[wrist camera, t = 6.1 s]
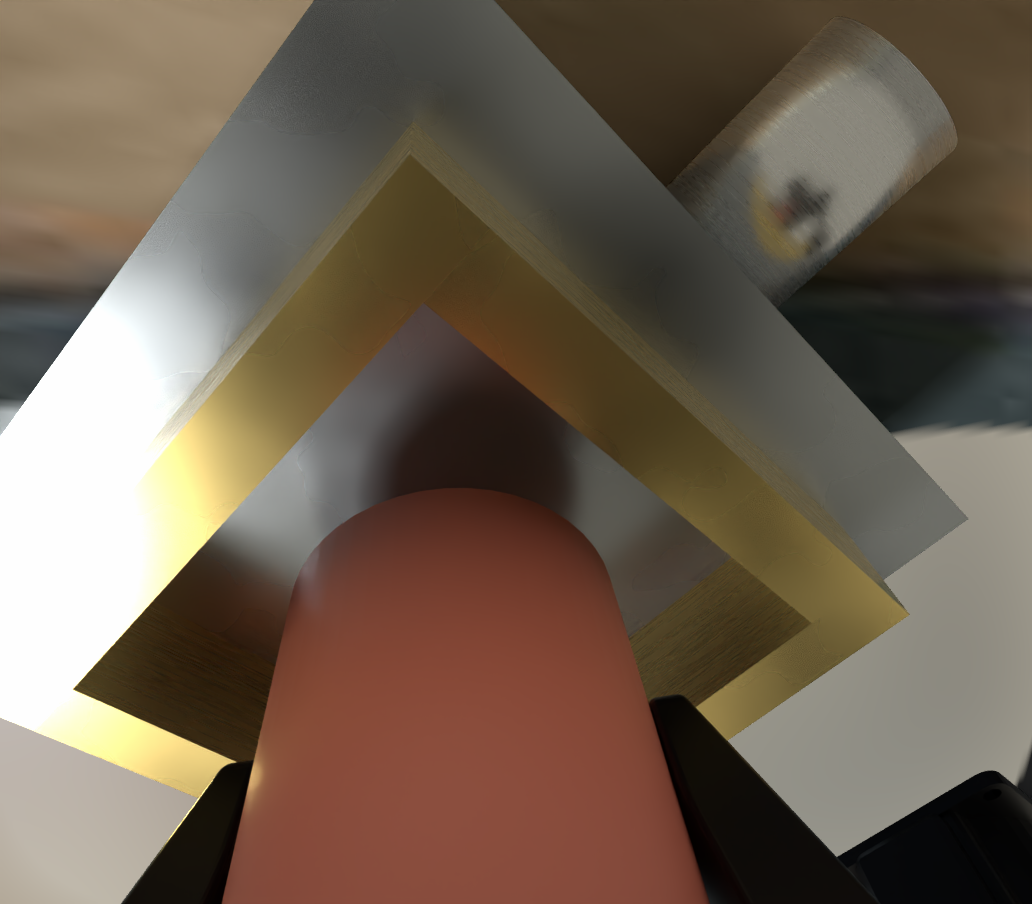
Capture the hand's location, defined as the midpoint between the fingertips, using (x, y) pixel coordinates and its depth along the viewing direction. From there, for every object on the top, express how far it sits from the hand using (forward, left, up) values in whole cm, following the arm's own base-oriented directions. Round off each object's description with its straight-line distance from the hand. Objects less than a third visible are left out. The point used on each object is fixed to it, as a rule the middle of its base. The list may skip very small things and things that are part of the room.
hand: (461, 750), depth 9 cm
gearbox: (0, -2, -7) cm, 7 cm away
